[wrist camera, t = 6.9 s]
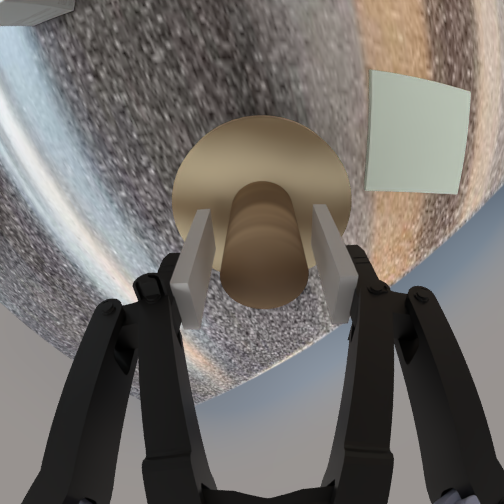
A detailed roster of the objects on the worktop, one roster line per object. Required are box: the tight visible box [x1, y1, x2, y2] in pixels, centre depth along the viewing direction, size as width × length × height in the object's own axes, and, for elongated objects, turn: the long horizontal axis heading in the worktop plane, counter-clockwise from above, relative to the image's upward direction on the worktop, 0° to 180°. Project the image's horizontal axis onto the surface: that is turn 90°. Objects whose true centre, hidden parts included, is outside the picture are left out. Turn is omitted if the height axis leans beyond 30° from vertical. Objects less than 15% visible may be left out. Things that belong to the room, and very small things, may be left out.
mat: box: [364, 70, 471, 194], centre depth 27 cm, size 14×14×1 cm
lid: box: [172, 115, 351, 309], centre depth 17 cm, size 12×12×8 cm
